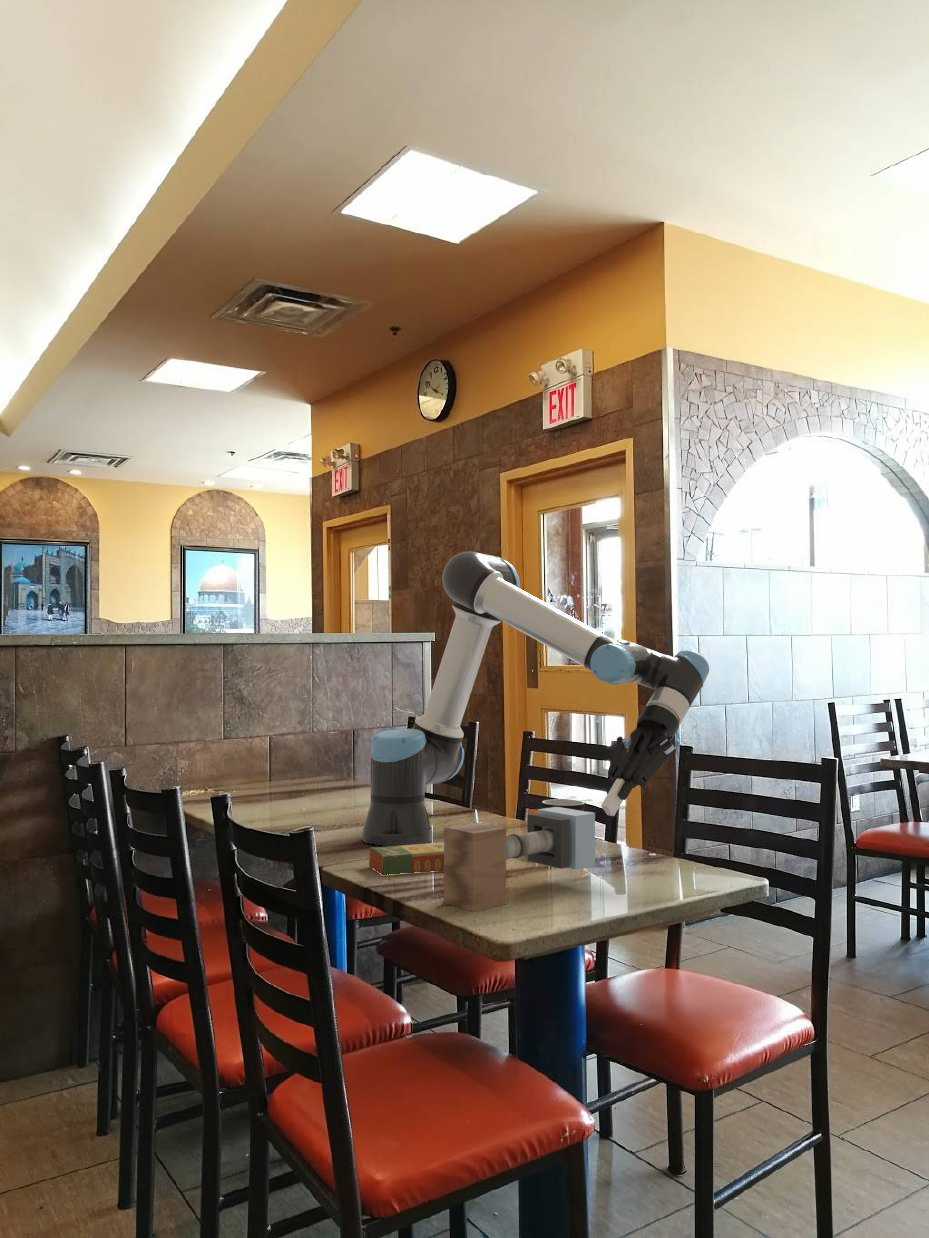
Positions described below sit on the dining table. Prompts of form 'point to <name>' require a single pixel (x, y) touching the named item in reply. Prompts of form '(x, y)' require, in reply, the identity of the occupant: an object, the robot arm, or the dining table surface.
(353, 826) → the dining table surface
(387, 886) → the dining table surface
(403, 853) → the carton
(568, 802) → the coffee mug
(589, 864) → the sleeve
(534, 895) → the dining table surface
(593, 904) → the dining table surface
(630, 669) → the robot arm
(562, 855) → the dark gray square plate
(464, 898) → the pipe mount
